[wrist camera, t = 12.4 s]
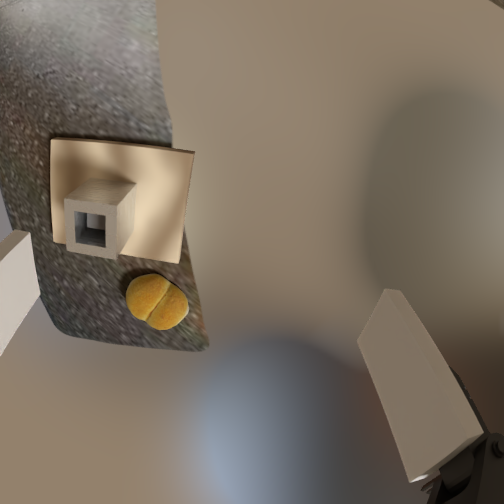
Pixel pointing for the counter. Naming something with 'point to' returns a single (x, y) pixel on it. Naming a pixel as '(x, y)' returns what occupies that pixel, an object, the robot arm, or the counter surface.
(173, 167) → the block
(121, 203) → the hollow square tube
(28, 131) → the counter surface
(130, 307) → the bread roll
